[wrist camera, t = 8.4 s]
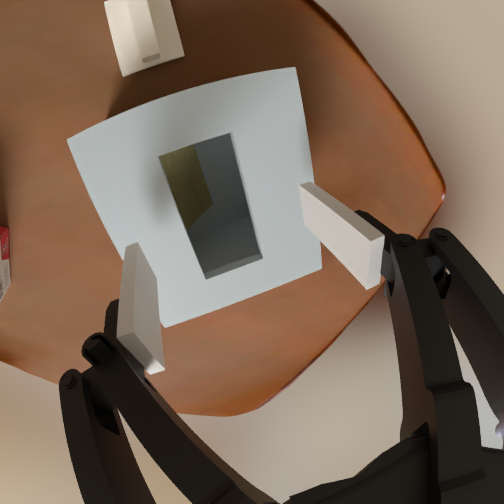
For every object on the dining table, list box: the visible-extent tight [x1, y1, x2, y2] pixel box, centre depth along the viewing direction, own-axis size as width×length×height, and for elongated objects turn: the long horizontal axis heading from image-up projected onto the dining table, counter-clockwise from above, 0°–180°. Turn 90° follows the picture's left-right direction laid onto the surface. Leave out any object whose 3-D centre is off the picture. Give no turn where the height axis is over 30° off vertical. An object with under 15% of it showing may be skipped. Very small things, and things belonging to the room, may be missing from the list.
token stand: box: [104, 0, 185, 77], centre depth 16 cm, size 9×6×4 cm, turn 12°
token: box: [159, 144, 213, 231], centre depth 24 cm, size 7×2×7 cm
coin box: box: [67, 67, 322, 328], centre depth 22 cm, size 16×14×12 cm
